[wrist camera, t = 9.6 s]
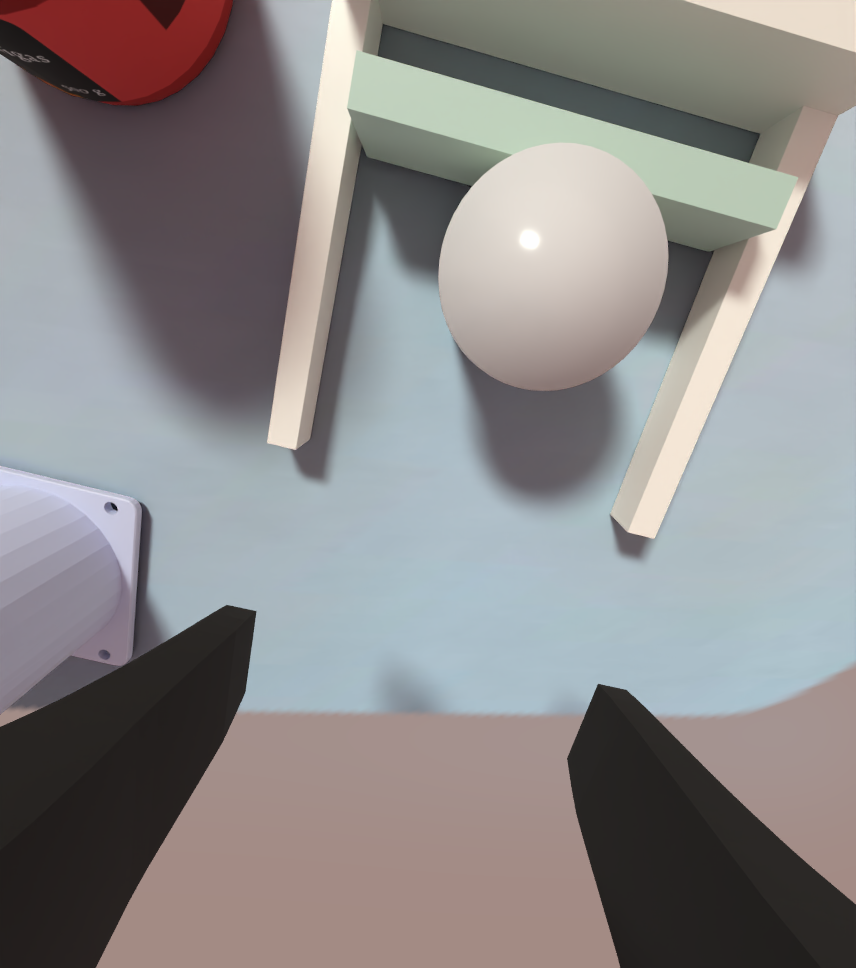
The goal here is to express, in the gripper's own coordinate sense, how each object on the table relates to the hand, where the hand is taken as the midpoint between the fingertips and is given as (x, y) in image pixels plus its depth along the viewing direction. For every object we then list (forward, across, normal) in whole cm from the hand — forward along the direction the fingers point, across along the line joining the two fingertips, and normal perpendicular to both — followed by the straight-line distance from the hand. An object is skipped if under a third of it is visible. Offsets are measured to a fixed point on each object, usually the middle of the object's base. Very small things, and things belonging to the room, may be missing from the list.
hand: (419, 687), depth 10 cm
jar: (+9, -1, -9) cm, 13 cm away
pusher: (+9, -1, -12) cm, 15 cm away
